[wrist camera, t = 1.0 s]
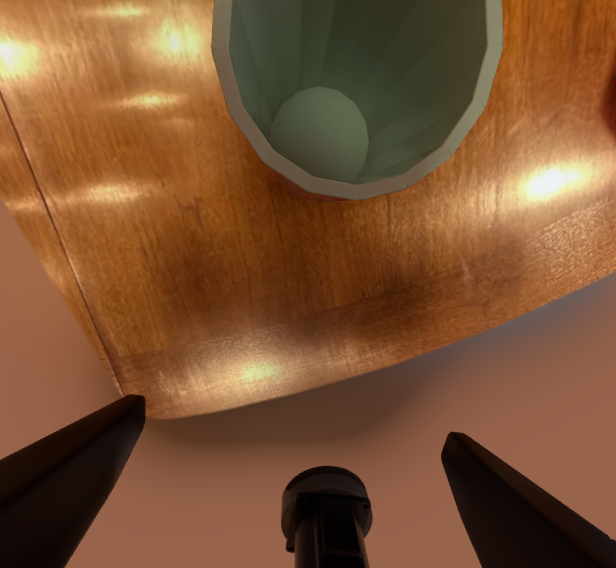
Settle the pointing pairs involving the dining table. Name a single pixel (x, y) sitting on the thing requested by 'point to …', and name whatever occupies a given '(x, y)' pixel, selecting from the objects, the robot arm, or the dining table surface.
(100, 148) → the dining table surface
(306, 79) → the tumbler
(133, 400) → the robot arm
